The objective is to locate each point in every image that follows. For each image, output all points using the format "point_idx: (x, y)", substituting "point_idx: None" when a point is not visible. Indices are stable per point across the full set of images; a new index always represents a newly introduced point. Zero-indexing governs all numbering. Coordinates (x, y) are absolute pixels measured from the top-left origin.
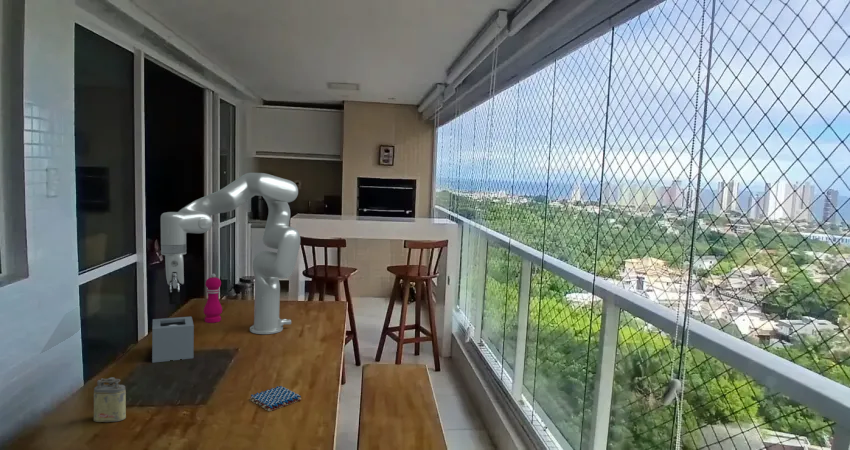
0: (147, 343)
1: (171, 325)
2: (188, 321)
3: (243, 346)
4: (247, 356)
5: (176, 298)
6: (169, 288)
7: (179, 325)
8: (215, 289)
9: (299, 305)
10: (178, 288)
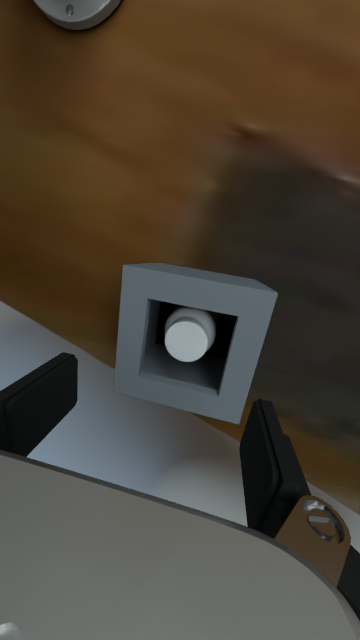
0: (90, 343)
1: (172, 344)
2: (198, 295)
3: (230, 104)
4: (343, 117)
5: (293, 458)
6: (32, 447)
7: (241, 340)
8: None
9: None
10: (344, 561)
